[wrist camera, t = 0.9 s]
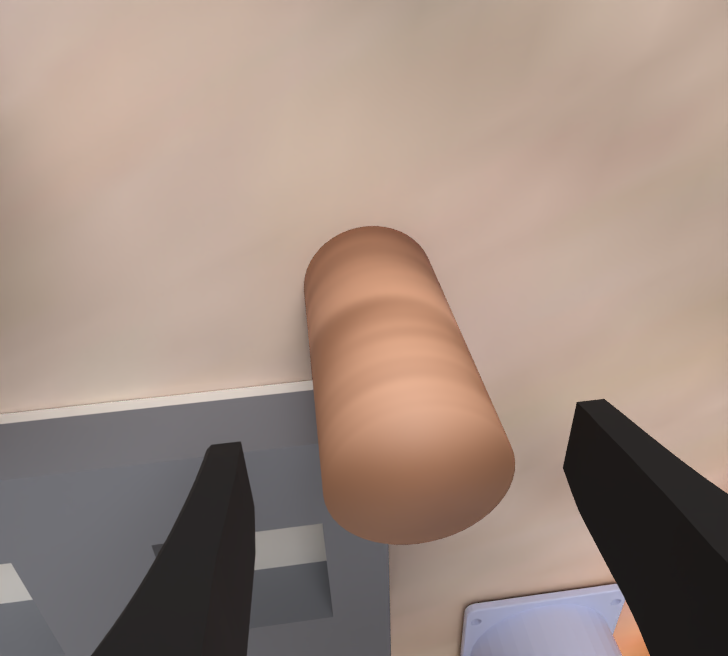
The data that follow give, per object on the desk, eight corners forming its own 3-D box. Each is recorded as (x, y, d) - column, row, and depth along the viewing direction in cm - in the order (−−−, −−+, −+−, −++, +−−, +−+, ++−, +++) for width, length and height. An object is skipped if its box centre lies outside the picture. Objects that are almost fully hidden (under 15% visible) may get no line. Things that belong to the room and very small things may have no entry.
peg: (430, 331, 21) (505, 532, 14) (309, 343, 20) (330, 555, 14) (433, 220, 18) (525, 398, 12) (297, 232, 18) (315, 423, 12)
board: (380, 593, 29) (390, 658, 26) (-76, 656, 27) (-110, 731, 25) (372, 373, 21) (385, 435, 19) (-256, 442, 20) (-330, 519, 17)
